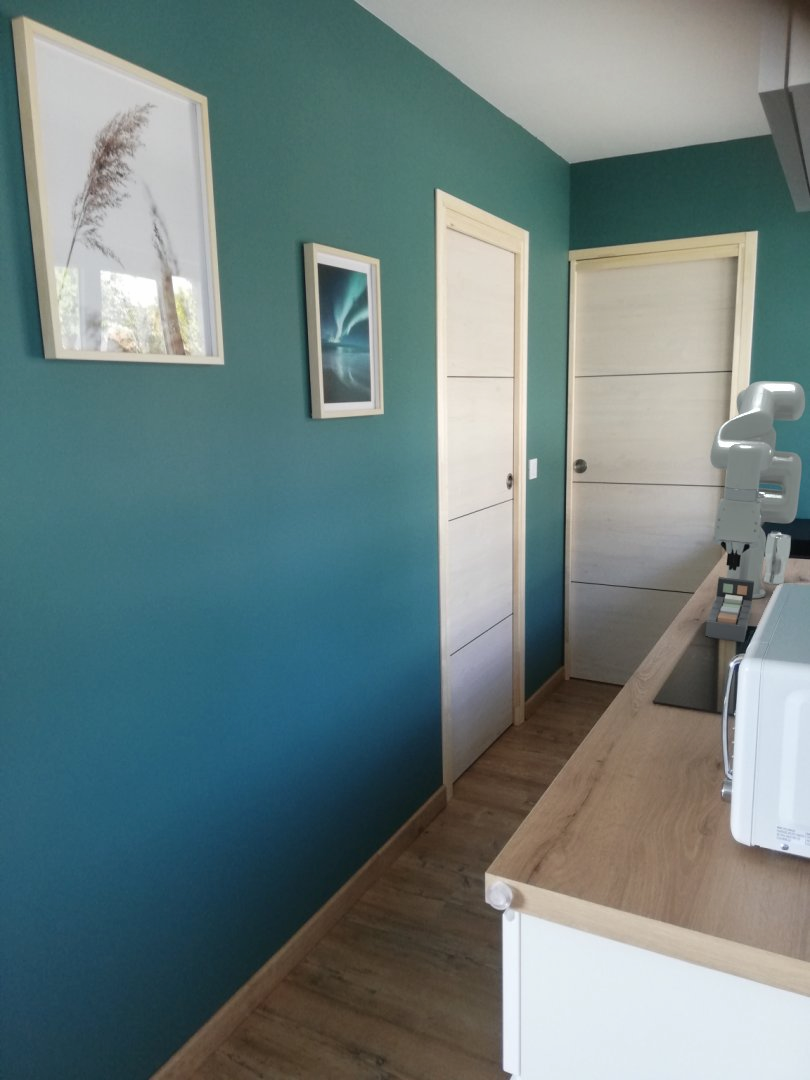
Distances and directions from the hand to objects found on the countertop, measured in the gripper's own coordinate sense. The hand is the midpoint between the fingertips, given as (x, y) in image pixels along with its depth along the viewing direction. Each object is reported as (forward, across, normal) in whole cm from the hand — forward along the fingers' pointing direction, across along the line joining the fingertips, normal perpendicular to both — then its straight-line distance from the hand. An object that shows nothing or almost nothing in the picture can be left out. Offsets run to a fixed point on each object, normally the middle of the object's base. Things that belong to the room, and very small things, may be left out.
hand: (732, 568), depth 197 cm
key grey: (+14, 0, -6) cm, 15 cm away
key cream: (+14, 0, -19) cm, 23 cm away
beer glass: (+17, -9, -62) cm, 65 cm away
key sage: (+14, 0, -13) cm, 19 cm away
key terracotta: (+14, 0, 0) cm, 14 cm away
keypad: (+17, 0, -10) cm, 20 cm away
